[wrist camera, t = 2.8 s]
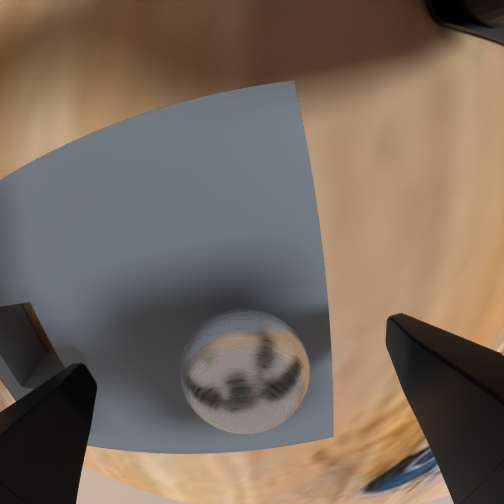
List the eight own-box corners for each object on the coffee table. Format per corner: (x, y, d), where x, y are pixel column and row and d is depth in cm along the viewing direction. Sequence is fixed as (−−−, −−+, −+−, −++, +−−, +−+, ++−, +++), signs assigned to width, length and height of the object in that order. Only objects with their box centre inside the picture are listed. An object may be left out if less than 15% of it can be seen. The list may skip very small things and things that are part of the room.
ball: (291, 276, 8) (316, 353, 5) (304, 364, 9) (323, 445, 6) (176, 297, 8) (143, 376, 5) (207, 379, 9) (196, 459, 6)
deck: (280, 100, 9) (293, 80, 6) (321, 390, 13) (333, 436, 10) (-29, 212, 10) (-67, 229, 7) (63, 404, 14) (45, 436, 11)
